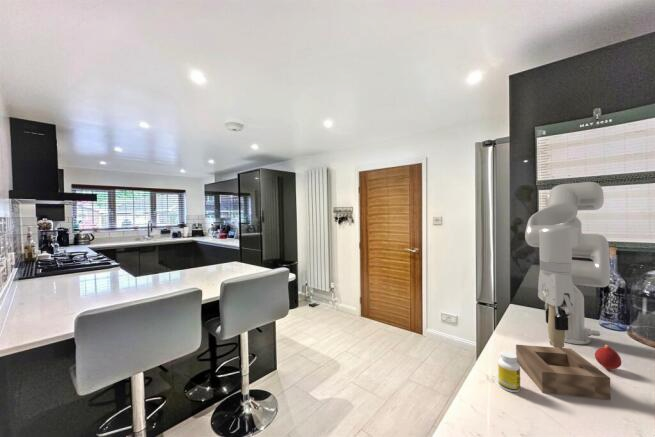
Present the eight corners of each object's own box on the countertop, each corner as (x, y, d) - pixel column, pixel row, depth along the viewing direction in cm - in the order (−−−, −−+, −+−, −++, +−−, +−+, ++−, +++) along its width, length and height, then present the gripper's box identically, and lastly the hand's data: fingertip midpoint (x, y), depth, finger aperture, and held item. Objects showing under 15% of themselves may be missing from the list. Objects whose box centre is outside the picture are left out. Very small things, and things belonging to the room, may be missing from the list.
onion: (613, 366, 87) (613, 342, 87) (626, 376, 81) (626, 350, 81) (591, 363, 89) (590, 339, 89) (602, 373, 83) (601, 348, 83)
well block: (571, 366, 87) (570, 348, 87) (610, 399, 72) (610, 377, 72) (516, 361, 91) (516, 344, 91) (542, 392, 75) (541, 371, 75)
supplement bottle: (521, 395, 75) (520, 361, 74) (498, 389, 77) (497, 356, 77) (519, 384, 79) (518, 352, 79) (498, 379, 82) (497, 348, 82)
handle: (566, 352, 77) (565, 301, 77) (540, 343, 83) (539, 296, 83) (573, 348, 80) (572, 298, 79) (547, 340, 85) (546, 293, 85)
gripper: (527, 262, 90) (528, 315, 90) (557, 272, 74) (559, 337, 74) (553, 262, 88) (554, 317, 88) (590, 273, 72) (591, 340, 72)
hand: (556, 325), depth 81 cm, fingers closed on handle, 3 cm apart
